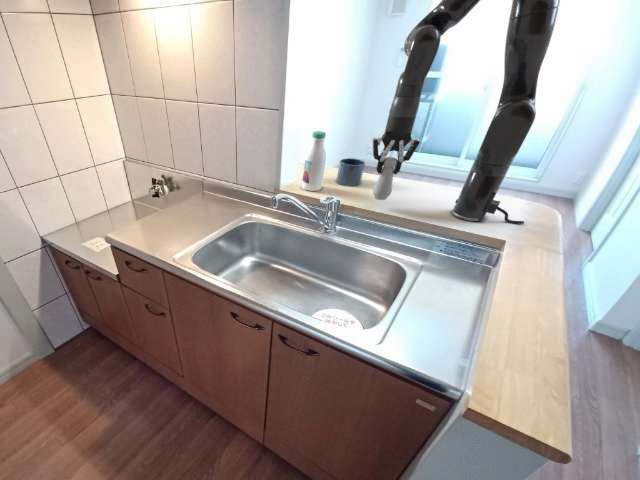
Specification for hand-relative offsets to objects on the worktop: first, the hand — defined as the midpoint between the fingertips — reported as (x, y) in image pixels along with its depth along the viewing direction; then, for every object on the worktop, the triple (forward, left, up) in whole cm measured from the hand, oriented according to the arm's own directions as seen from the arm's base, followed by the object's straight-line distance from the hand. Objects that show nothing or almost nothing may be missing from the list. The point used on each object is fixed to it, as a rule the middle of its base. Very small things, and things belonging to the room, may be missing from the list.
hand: (387, 173), depth 106 cm
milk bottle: (+27, -1, -12) cm, 30 cm away
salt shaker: (0, 0, -8) cm, 8 cm away
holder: (+19, -17, -11) cm, 28 cm away
